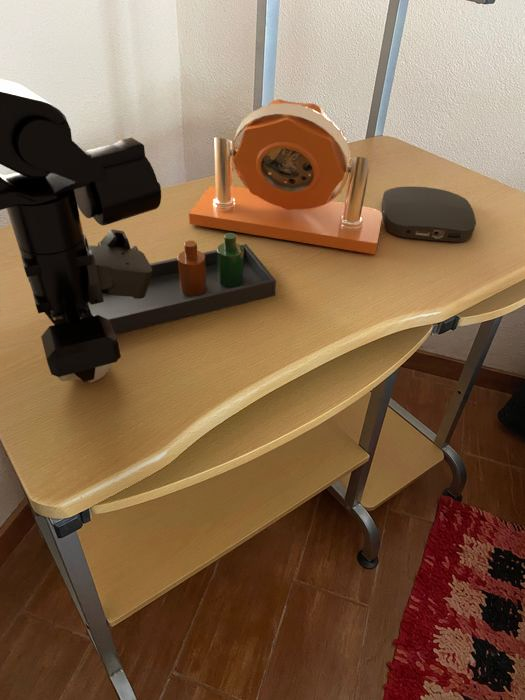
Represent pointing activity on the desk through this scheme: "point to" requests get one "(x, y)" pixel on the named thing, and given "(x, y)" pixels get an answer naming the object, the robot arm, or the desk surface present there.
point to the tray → (173, 304)
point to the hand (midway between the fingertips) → (83, 362)
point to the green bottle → (230, 261)
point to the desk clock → (290, 181)
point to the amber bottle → (192, 270)
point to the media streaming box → (427, 214)
